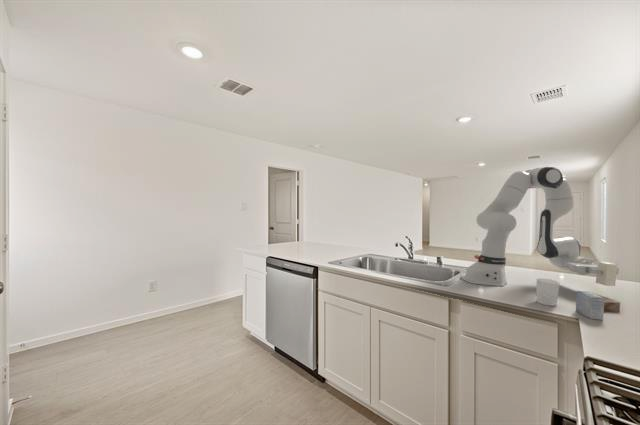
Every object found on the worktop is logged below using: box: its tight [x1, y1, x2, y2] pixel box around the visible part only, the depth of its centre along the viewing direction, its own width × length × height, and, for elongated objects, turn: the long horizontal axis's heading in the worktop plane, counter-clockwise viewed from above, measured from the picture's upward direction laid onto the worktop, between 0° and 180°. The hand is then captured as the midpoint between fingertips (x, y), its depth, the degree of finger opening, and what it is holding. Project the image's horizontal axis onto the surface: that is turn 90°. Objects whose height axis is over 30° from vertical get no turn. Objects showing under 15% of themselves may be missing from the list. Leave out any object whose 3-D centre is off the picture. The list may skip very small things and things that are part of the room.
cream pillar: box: [595, 261, 618, 287], centre depth 126 cm, size 4×4×10 cm
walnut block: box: [597, 294, 621, 312], centre depth 117 cm, size 9×9×4 cm
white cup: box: [535, 277, 561, 307], centre depth 120 cm, size 8×8×10 cm
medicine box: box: [575, 290, 605, 321], centre depth 107 cm, size 8×4×9 cm, turn 168°
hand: (608, 273), depth 125 cm, fingers closed on cream pillar, 4 cm apart
